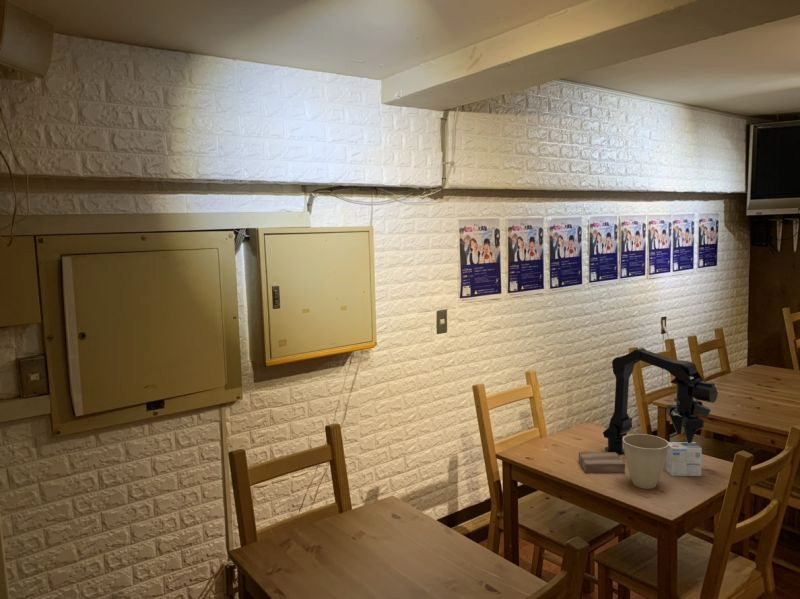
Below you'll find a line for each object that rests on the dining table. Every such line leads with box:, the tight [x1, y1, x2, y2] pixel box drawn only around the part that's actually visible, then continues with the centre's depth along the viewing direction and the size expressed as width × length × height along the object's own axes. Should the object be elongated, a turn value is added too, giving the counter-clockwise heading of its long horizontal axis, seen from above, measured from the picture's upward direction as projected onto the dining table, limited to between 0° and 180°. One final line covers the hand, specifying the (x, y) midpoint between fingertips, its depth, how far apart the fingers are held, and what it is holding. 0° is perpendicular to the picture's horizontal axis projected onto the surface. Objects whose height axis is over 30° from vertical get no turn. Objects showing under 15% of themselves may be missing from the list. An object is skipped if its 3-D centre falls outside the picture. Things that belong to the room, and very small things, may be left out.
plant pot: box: [623, 433, 669, 490], centre depth 212 cm, size 15×15×16 cm
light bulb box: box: [665, 441, 703, 477], centre depth 221 cm, size 11×7×11 cm, turn 84°
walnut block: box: [578, 451, 626, 475], centre depth 229 cm, size 12×14×4 cm
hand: (684, 438), depth 220 cm, fingers open, 9 cm apart
